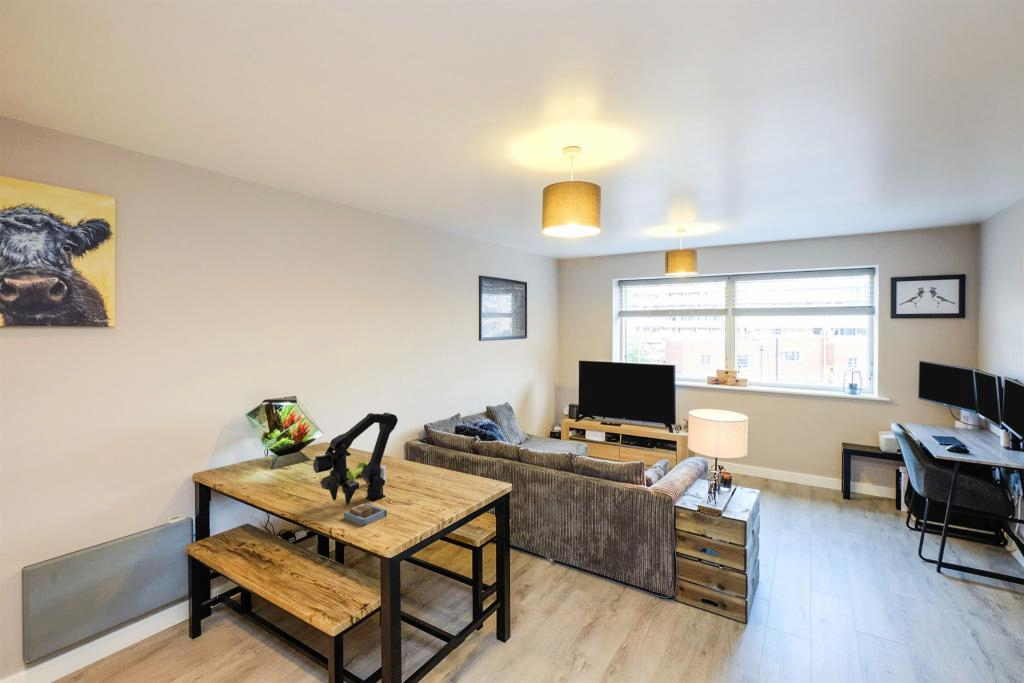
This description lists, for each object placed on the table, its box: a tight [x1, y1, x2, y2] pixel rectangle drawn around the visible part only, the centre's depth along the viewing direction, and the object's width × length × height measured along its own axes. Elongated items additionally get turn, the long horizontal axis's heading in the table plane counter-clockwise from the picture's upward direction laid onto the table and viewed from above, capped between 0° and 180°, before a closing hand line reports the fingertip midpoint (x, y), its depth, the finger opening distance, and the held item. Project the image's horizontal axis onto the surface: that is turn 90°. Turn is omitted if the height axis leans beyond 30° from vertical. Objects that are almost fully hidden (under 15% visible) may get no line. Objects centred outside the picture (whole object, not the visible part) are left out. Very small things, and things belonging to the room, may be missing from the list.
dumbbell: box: [347, 460, 370, 482], centre depth 239 cm, size 16×8×7 cm, turn 160°
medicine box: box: [367, 465, 387, 486], centre depth 231 cm, size 8×4×9 cm, turn 92°
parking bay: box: [343, 503, 388, 527], centre depth 192 cm, size 11×13×2 cm
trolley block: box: [349, 503, 373, 518], centre depth 193 cm, size 6×7×4 cm
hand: (340, 502), depth 202 cm, fingers open, 9 cm apart
